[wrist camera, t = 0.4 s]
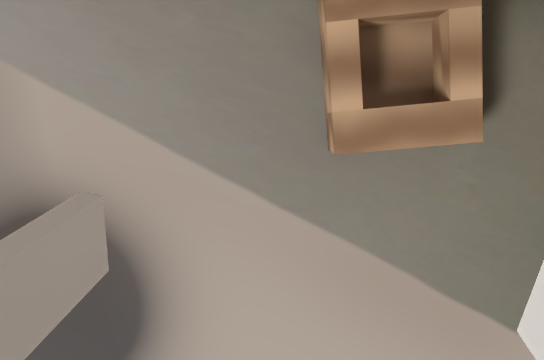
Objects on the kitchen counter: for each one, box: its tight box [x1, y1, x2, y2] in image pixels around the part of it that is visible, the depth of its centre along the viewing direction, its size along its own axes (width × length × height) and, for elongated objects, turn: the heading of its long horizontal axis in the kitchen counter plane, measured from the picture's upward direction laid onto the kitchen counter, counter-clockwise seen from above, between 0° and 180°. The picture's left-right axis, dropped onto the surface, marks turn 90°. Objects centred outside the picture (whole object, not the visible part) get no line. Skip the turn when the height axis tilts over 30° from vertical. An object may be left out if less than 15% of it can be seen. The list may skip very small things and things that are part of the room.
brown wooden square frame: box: [318, 0, 483, 155], centre depth 33 cm, size 14×12×5 cm
